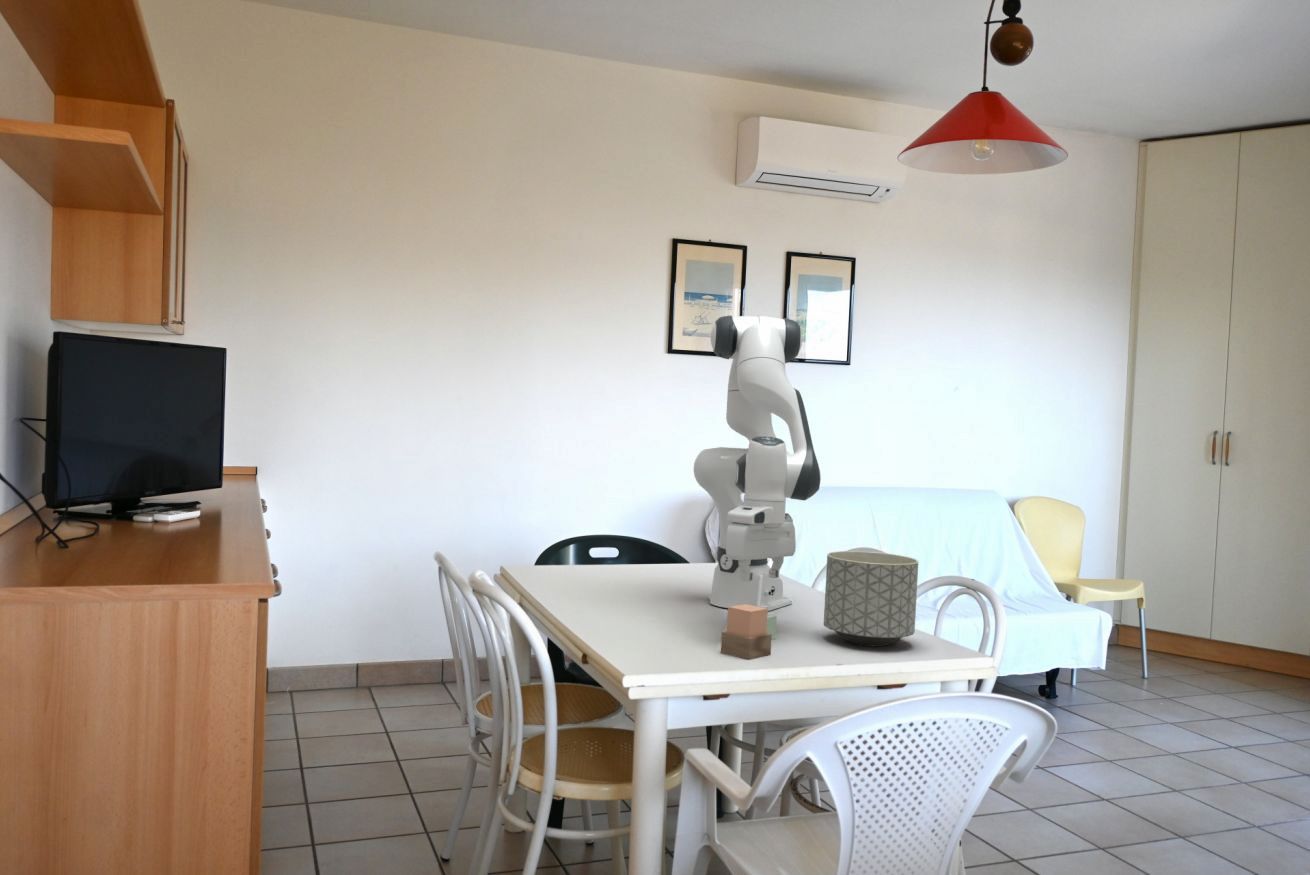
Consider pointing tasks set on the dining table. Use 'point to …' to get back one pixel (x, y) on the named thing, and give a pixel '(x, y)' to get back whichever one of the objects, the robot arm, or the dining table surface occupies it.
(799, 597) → the dining table surface
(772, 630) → the sage block
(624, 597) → the dining table surface
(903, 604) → the planter
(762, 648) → the walnut base
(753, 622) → the terracotta block
